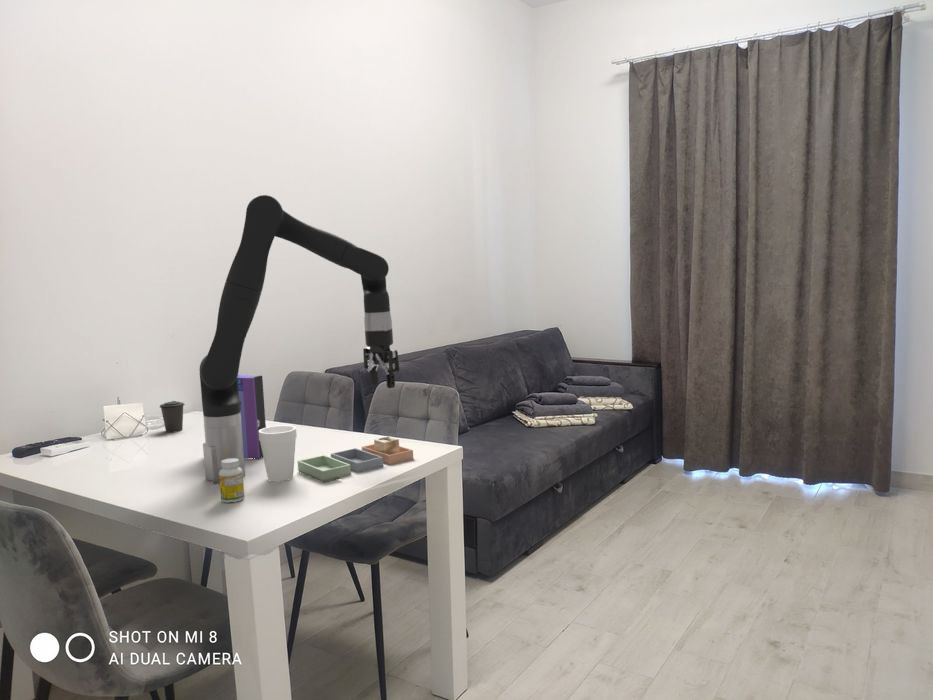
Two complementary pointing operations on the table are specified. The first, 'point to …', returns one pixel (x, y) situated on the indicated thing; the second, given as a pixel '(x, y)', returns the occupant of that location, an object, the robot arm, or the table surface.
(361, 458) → the slate tray
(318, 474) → the sage tray
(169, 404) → the coffee cup
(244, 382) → the cereal box
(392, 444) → the letter cube
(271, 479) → the foam cup
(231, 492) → the supplement bottle
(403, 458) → the terracotta tray
